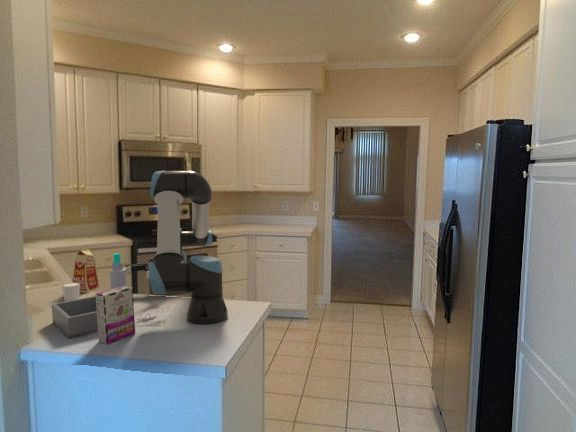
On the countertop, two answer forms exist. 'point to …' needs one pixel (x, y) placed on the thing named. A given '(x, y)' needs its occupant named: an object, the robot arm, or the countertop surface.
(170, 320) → the countertop surface
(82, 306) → the tote
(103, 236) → the countertop surface
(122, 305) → the candy bar box
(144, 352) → the countertop surface
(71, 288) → the white cylinder
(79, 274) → the milk carton
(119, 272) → the spray bottle
